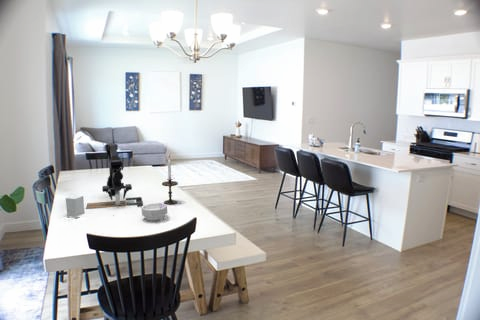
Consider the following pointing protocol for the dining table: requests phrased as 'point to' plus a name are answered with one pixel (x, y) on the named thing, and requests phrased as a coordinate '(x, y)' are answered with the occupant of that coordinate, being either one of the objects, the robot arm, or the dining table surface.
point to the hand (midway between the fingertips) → (117, 200)
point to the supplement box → (75, 206)
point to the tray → (138, 201)
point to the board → (104, 204)
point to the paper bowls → (154, 211)
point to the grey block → (117, 198)
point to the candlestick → (169, 185)
